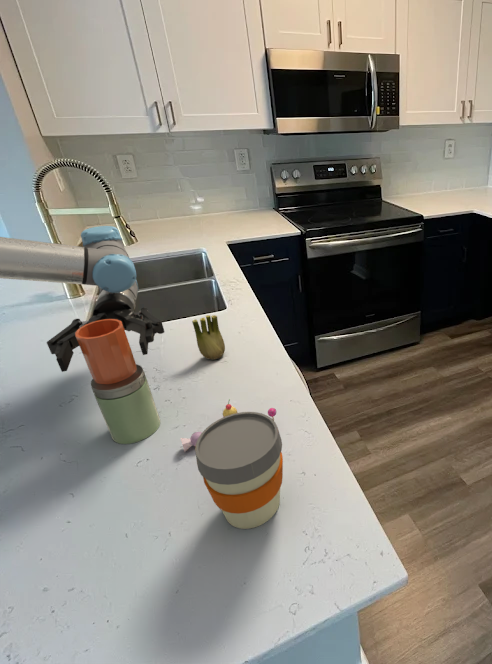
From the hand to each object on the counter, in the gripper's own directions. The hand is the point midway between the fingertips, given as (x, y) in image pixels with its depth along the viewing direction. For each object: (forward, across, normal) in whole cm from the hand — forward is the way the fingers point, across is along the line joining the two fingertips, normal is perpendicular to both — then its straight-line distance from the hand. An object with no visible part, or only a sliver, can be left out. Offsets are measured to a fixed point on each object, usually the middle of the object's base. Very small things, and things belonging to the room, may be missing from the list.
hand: (103, 356), depth 76 cm
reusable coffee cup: (+27, -19, -19) cm, 38 cm away
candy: (+7, -18, -19) cm, 27 cm away
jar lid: (-2, 0, -6) cm, 7 cm away
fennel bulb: (-24, -18, -19) cm, 36 cm away
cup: (-4, 0, -6) cm, 7 cm away
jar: (-2, 0, -19) cm, 19 cm away
